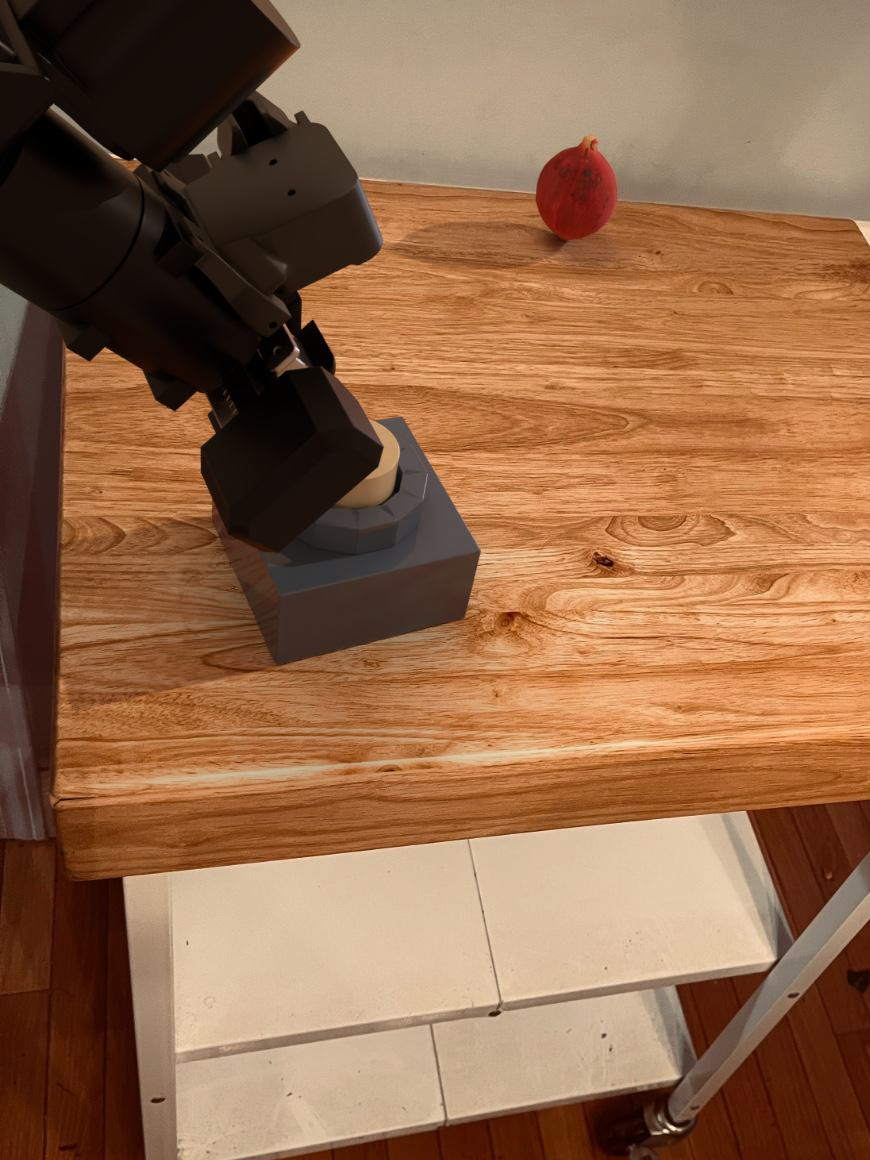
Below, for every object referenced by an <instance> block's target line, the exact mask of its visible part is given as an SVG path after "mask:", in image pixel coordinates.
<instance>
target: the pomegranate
mask: <svg viewBox="0 0 870 1160" xmlns="http://www.w3.org/2000/svg"><path fill="white" fill-rule="evenodd" d="M599 143H600V141H599V139H597V137H596V136H594V135H593V134H589V135H585V136H583V137H582V140H581V142H580V143H579V144H578V145H576V146H572V147H568V148H567V147H566V148H564V149H563V150H560V151H559V152H558V153H556V154H555V155H554V156H552V157H551V158H550V159H549V160H548V161H547V162H546V163H545V164H544V166H543V167H542V169H541V171H540V173H539V175H538V178H537V181H536V189H535V199H534V200H535V204H536V207H537V211H538V213H539V215H540V217H541V219H542V221H543V223H544V224H545V226H546V227H547V228H549V230H551V231H552V233H553V234H555V235H556V236H557V237H559V239H561V240H563V241H567V242H568V241H573V240H580V239H584V238H587V237H589V236H591V235H593V234H596V233H598V232H599V231H600V230H601V229H602V228H603V227H605V226H606V224H607V223H608V222H609V221H610V219H611V218H612V216H613V214H614V213H615V211H616V207H617V203H618V182H617V177H616V174H615V172H614V169H613V168H612V166H611V164H610V163H609V161H608V160H607V158H606V156H604V155H603V154H602V153H601V152H600V151H598V145H599Z"/></svg>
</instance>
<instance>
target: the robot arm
mask: <svg viewBox="0 0 870 1160" xmlns="http://www.w3.org/2000/svg"><path fill="white" fill-rule="evenodd" d="M301 47H302V45H301V41H300V40H299V39H298V36H297V35H296V33H295V32H294V31H293V30H292V28H291V27H290V25H289V24H288V23H287V21H286V20H285V18H284V17H283V16H282V14H281V13H280V12H279V10H278V9H277V8H276V6H275V5H274V4H273V3H272V1H271V0H0V285H2V286H3V287H5V288H6V289H8V290H10V291H11V292H13V293H14V294H16V295H18V296H19V297H21V298H22V299H24V300H26V301H28V302H29V303H31V304H33V305H34V306H36V307H37V308H39V309H41V310H43V311H44V312H46V313H48V314H49V315H51V316H52V317H53V318H54V320H55V322H56V325H57V327H58V330H59V333H60V335H61V338H62V340H63V343H64V346H65V348H66V349H67V350H69V351H70V352H71V353H74V354H76V355H77V356H79V357H80V358H82V359H84V360H86V361H88V362H89V363H90V362H91V361H93V359H94V358H96V357H97V355H99V354H100V353H101V352H102V351H103V350H104V349H105V348H106V349H107V350H109V351H110V352H111V353H113V354H115V355H117V356H119V357H120V358H122V359H124V360H125V361H127V362H129V363H130V364H132V365H133V366H135V367H137V368H139V369H140V370H141V371H142V373H143V375H144V378H145V380H146V382H147V384H148V387H149V389H150V391H151V393H152V396H153V399H154V400H155V401H156V402H158V403H159V404H161V405H162V406H165V407H166V408H168V409H169V410H172V412H176V411H178V410H179V409H180V408H181V407H182V406H183V405H184V404H185V403H186V402H187V401H188V400H189V399H191V398H192V397H193V396H194V395H195V394H196V393H199V394H202V395H205V397H206V400H207V402H208V404H209V406H210V408H211V410H210V411H209V412H207V418H208V420H209V422H210V424H211V426H212V428H213V431H214V434H213V435H212V436H211V437H210V438H209V439H207V441H205V442H204V443H203V444H202V445H201V446H200V449H199V450H200V454H199V455H200V474H201V477H202V478H203V481H204V483H205V486H206V487H207V490H208V492H209V495H210V497H211V500H212V499H213V501H214V504H215V506H216V508H217V510H218V513H219V515H220V517H221V519H222V522H223V524H224V526H225V528H226V531H227V533H228V535H229V536H232V537H234V538H236V539H238V540H240V541H242V542H244V543H246V544H248V545H250V546H252V547H254V548H256V549H258V550H260V551H262V552H271V553H279V552H280V551H281V550H283V549H284V548H285V547H286V546H287V545H288V544H290V543H291V542H292V541H293V540H294V539H295V538H297V537H298V536H299V535H300V534H301V533H302V532H303V531H305V530H306V529H307V528H308V527H309V526H310V525H312V524H313V523H314V522H315V521H316V520H317V519H319V518H320V517H321V516H322V515H323V514H324V513H326V512H327V511H328V510H329V509H330V508H331V507H332V506H334V505H335V504H336V503H337V502H338V501H339V500H341V499H342V498H343V497H344V496H345V495H346V494H348V493H349V492H350V491H351V490H352V489H353V488H355V487H356V486H357V485H358V484H359V483H360V482H361V481H363V480H364V479H365V478H366V477H367V476H368V475H370V474H371V473H372V472H373V471H374V470H375V469H377V468H378V467H379V463H380V460H381V456H382V452H383V449H384V446H383V444H382V442H381V441H380V439H379V437H378V435H377V434H376V432H375V430H374V428H373V426H372V425H371V423H370V421H369V419H370V418H368V416H367V414H366V412H365V411H364V409H363V407H362V405H361V404H360V402H359V400H358V399H357V398H356V397H355V396H354V395H353V394H352V393H351V392H350V390H349V389H348V388H347V387H346V386H345V384H343V382H342V381H340V379H339V378H338V377H336V376H335V375H336V371H337V362H336V358H335V357H336V356H335V355H334V353H333V351H332V350H331V347H330V346H329V344H328V343H327V340H326V339H325V337H324V335H323V333H322V332H321V330H320V329H319V327H318V324H317V323H316V322H315V321H316V320H314V319H311V320H310V321H309V322H307V323H306V324H305V325H304V326H303V327H302V321H303V319H302V317H303V316H302V315H303V312H302V311H303V300H302V297H301V295H300V293H299V291H301V290H302V289H304V288H306V287H309V286H311V285H313V284H314V283H317V282H319V281H320V280H323V279H325V278H326V277H329V276H330V275H334V274H335V273H337V272H339V271H341V270H343V269H345V268H347V267H349V266H357V267H358V266H361V265H362V264H365V263H367V262H369V261H371V260H372V259H373V258H374V257H376V256H377V255H378V254H379V252H380V251H381V250H382V248H383V245H384V237H383V234H382V232H381V230H380V227H379V225H378V222H377V219H376V217H375V215H374V211H373V209H372V207H371V205H370V202H369V200H368V197H367V195H366V192H365V190H364V187H363V184H362V182H361V180H360V178H359V175H358V172H357V171H356V169H355V167H354V166H353V165H352V163H351V162H350V160H349V158H348V157H347V155H346V154H345V152H344V151H343V149H342V148H341V146H340V145H339V144H338V142H337V140H336V139H335V138H334V136H333V134H332V133H331V132H330V130H329V128H328V127H327V126H325V125H324V124H322V123H319V122H314V121H310V118H309V117H308V115H307V114H306V112H305V111H304V110H299V111H298V112H296V113H294V114H293V116H294V119H295V122H294V121H293V120H291V119H289V117H288V115H287V114H286V113H285V111H284V110H283V109H282V108H280V107H278V106H277V105H276V104H275V103H273V102H272V101H270V100H269V99H268V98H267V97H265V96H264V95H263V94H261V93H260V92H259V91H257V89H259V88H260V87H261V86H262V85H263V84H264V83H265V82H266V81H267V80H268V79H269V78H270V77H272V75H273V74H275V73H276V71H278V70H279V68H281V67H282V65H284V64H285V63H286V62H287V61H288V60H290V58H291V57H292V56H293V55H294V54H295V53H296V52H297V51H298V50H299V49H301ZM52 106H56V107H57V108H58V109H60V110H61V111H62V112H63V113H65V114H66V116H68V117H69V118H70V119H71V120H72V121H73V122H74V123H76V125H78V126H79V127H80V128H81V129H82V130H83V131H84V132H85V133H86V134H87V135H89V136H90V137H91V138H92V139H93V140H92V139H91V138H89V137H88V136H87V135H85V134H84V133H83V132H82V131H80V130H79V129H78V128H76V127H75V126H74V125H73V124H71V122H69V121H68V120H66V118H64V117H62V116H61V115H60V114H58V112H56V111H55V110H53V109H52V108H51V107H52ZM216 129H217V130H216ZM215 130H216V144H217V147H218V150H219V152H220V155H219V153H218V152H217V150H216V151H213V152H210V153H208V154H207V155H205V154H204V153H192V152H193V151H194V150H195V149H196V148H197V147H198V146H199V145H200V144H201V143H202V142H203V141H204V140H205V139H206V138H208V137H209V135H211V133H212V132H214V131H215ZM94 141H96V142H97V143H98V144H99V145H100V146H99V145H98V144H97V143H96V142H94ZM101 146H102V147H103V148H104V149H106V150H107V151H108V152H107V151H106V150H104V149H103V148H102V147H101ZM109 152H110V153H111V154H113V155H114V156H116V157H117V158H120V159H122V160H124V161H127V162H132V161H134V160H137V162H139V163H140V164H139V165H138V166H136V168H135V169H134V170H133V171H131V170H130V169H129V168H127V167H126V166H124V164H122V163H121V162H120V161H119V160H117V159H116V158H114V157H113V156H112V155H111V154H110V153H109Z"/></svg>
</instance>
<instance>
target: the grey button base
mask: <svg viewBox="0 0 870 1160" xmlns="http://www.w3.org/2000/svg"><path fill="white" fill-rule="evenodd" d="M374 421H375V422H377V423H379V424H381V425H382V426H384V427H385V428H387V429H388V430H389V431H390V432H391V433H392V434H393V435H394V437H395V438H396V440H397V442H398V445H399V448H400V456H399V463H398V469H397V476H396V482H395V487H394V490H393V492H392V494H391V495H390V496H389V498H387V499H386V500H385V501H384V502H383V503H381V504H379V505H377V506H375V507H369V508H364V509H359V510H350V509H345V508H339V507H334V506H332V507H331V508H330V509H329V510H328V511H327V512H326V513H324V514H323V515H322V516H321V517H320V518H319V519H317V520H316V521H315V522H314V523H313V524H312V525H310V526H309V527H308V528H307V529H306V530H305V531H303V532H302V533H301V534H300V535H299V536H298V537H297V538H295V539H294V540H293V541H292V542H291V543H290V544H288V545H287V546H286V547H285V548H284V549H283V550H281V551H280V552H279V553H271V552H262V551H260V550H258V549H256V548H254V547H252V546H250V545H248V544H246V543H244V542H242V541H240V540H238V539H236V538H234V537H232V536H229V535H228V533H227V531H226V528H225V526H224V524H223V522H222V519H221V517H220V515H219V513H218V510H217V508H216V506H215V504H214V501H213V499H212V498H211V521H212V524H213V526H214V528H215V531H216V532H217V535H218V537H219V539H220V542H221V544H222V547H223V548H224V551H225V553H226V555H227V559H228V560H229V563H230V565H231V567H232V568H233V569H232V570H233V572H234V573H235V576H236V579H237V581H238V583H239V585H240V588H241V590H242V592H243V594H244V597H245V600H246V601H247V604H248V606H249V608H250V611H251V613H252V615H253V617H254V620H255V622H256V624H257V628H258V629H259V631H260V633H261V636H262V638H263V641H264V643H265V645H266V647H267V650H268V651H269V652H268V653H269V654H270V656H271V659H272V661H273V664H274V665H275V666H280V665H283V664H285V665H286V664H288V663H292V662H295V661H300V660H303V659H307V658H311V657H316V656H320V655H324V654H327V653H332V652H336V651H340V650H343V649H347V648H351V647H355V646H360V645H363V644H368V643H371V642H374V641H379V640H384V639H387V638H391V637H395V636H399V635H403V634H406V633H412V632H415V631H418V630H422V629H426V628H431V627H435V626H439V625H443V624H446V623H451V622H454V621H459V620H462V619H465V618H466V615H467V611H468V607H469V603H470V598H471V595H472V590H473V586H474V581H475V578H476V574H477V570H478V565H479V561H480V557H481V553H482V550H481V548H480V546H479V544H478V542H477V540H476V539H475V537H474V536H473V534H472V532H471V531H470V529H469V528H468V525H467V523H466V522H465V520H464V519H463V517H462V515H461V513H460V512H459V510H458V509H457V507H456V505H455V503H454V502H453V499H451V497H450V495H449V493H448V491H447V490H446V488H445V486H444V484H443V483H442V481H441V480H440V478H439V476H438V474H437V473H436V471H435V469H434V467H433V466H432V464H431V462H430V461H429V459H428V457H427V456H426V454H425V452H424V451H423V449H422V447H421V445H420V443H419V442H418V440H417V438H416V437H415V435H414V433H413V432H412V430H411V428H410V427H409V425H408V423H407V422H406V420H405V418H404V417H403V416H396V417H394V416H393V417H388V418H382V419H376V420H374Z"/></svg>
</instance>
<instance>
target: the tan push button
mask: <svg viewBox="0 0 870 1160" xmlns="http://www.w3.org/2000/svg"><path fill="white" fill-rule="evenodd" d="M368 419H369V421H370V423H371V425H372V426H373V428H374V430H375V432H376V434H377V435H378V437H379V439H380V441H381V442H382V444H383V446H384V449H383V452H382V456H381V460H380V463H379V467H378V468H377V469H375V470H374V471H373V472H372V473H371V474H370V475H368V476H367V477H366V478H365V479H364V480H363V481H361V482H360V483H359V484H358V485H357V486H356V487H355V488H353V489H352V490H351V491H350V492H349V493H348V494H346V495H345V496H344V497H343V498H342V499H341V500H339V501H338V502H337V503H336V504H335V505H334V507H339V508H345V509H350V510H359V509H364V508H369V507H375V506H377V505H379V504H381V503H383V502H384V501H385V500H386V499H387V498H389V496H390V495H391V494H392V492H393V490H394V487H395V482H396V476H397V469H398V463H399V456H400V448H399V445H398V442H397V440H396V438H395V437H394V435H393V434H392V433H391V432H390V431H389V430H388V429H387V428H385V427H384V426H382V425H381V424H379V423H377V422H375V421H376V420H373V419H370V418H368Z"/></svg>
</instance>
